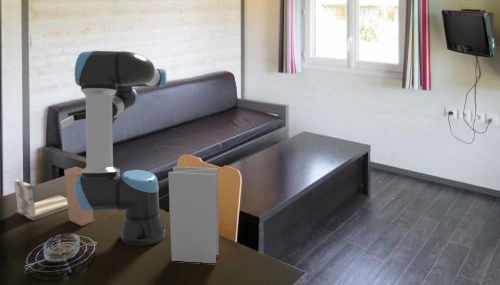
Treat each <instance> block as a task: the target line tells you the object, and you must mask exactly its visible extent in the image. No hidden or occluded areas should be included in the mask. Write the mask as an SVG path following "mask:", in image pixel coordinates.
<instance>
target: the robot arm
mask: <svg viewBox="0 0 500 285" xmlns="http://www.w3.org/2000/svg"><path fill="white" fill-rule="evenodd" d="M74 81H75V84H76V85H77V86H78V87H80V92H82V94H84V96H85V108H82V109H78V110H75V111H70V112H68V113H67V116H68V117H66V118H64V119H63V120H61V121H60V122H59V123H60V124H59V125H60V128H61V129H62V130H63V129H65V128H67V127H68V126H70V125H71V124H74V123H75V121H80V120H81V121H82V120H85V135H86V136H85V138H86V139H85V145H86V146H85V147H86V150H85V152H86V156H85V157H86V164H85V165H86V166H85V167H84V168H83V169H84V170H83V171H82V176H80V177H78V178H77V180H76V196H77V200H78V203H79V205H80V207H81V208H82V209H83V210H86V211H93V212H98V211H99V212H101V211H102V212H103V211H106V212H107V211H124V220H123V224H122V228H121V230H120V239H121V241H122V242H123V243H124V244H125V245H128V246H134V247H146V246H152V245H155V244H157V243H160V242H161V241H162V240H163V239H165V237H166V227H165V225H164V223H163V220H162V218H161V215H160V204H159V203H160V199H159V189H160V188H159V182H158V177H157V176H156V175H155V174H154V173H153V172H150V171H147V170H142V169H132V170H127V171H124V172H123V173H122V175H121V176H120V175H119V174H118V170H117V169H116V167H115V166H114V163H113V162H114V159H113V158H114V155H113V150H114V148H113V146H114V144H113V140H114V139H113V137H114V136H113V125H114V122H115V121H116V120H117V116H118V114H121V113H122V112H124V111H125V110H127V109H129V108H130V107H133V106H134V105H135V104H136V103H137V102H138V100H139V94H138V92H137V91H136V90H135V88H144V87H145V88H162V87H163V88H164V87H166V86H167V71H166V69H162V68H155V65H154V64H153V62H152V61H151V60H150V59H148V57H145V56H144V55H141V54H137V53H135V52H131V51H123V50H120V51H117V50H116V51H114V50H91V51H90V50H89V51H82V52H81V53H80V54H78V56H77V58H76V61H75V66H74ZM118 175H119V176H118Z"/></svg>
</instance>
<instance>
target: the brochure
mask: <svg viewBox="0 0 500 285" xmlns="http://www.w3.org/2000/svg"><path fill="white" fill-rule="evenodd" d="M167 175H168V195H169V196H168V197H169V198H168V199H169V200H168V201H169V221H170V222H169V223H170V224H169V225H170V226H169V228H170V246H171V247H170V250H171V262H172V261H184V262H185V261H186V262H203V263H216V264H217V256H216V255H219V254H220V253H219V252H220V251H219V250H220V248H219V247H220V246H219V244H220V242H219V234H220V232H219V227H220V226H219V168H216V167H213V168H212V167H190V166H189V167H187V166H172V171H168V174H167ZM184 262H183V263H184Z"/></svg>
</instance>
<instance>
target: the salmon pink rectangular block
mask: <svg viewBox="0 0 500 285" xmlns="http://www.w3.org/2000/svg"><path fill="white" fill-rule="evenodd" d="M84 169H85V168H81V167H78V166H74V167H69V168H67V169H63V173H64V183H65V191H66V192H65V193H66V198H67V203H68V208H67V212H68V220H69V221H71V222H72V223H75V224H77V225H79V226H80V227H82V226H85V225H88V224H91V223H93V222H94V211H86V210H83V209H82V208H81V207H80V205H79V203H78V200H77V196H76V180H77V178H78V177H80V176H82V171H83V170H84Z"/></svg>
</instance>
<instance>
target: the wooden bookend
mask: <svg viewBox="0 0 500 285" xmlns="http://www.w3.org/2000/svg"><path fill="white" fill-rule="evenodd" d="M13 183H14V191H15V198H16V206H17V208H16V213H17V212H19V213H20V215H21V214H22V215H21V216H23V215H24V216H23V217H25V216H26V218H28V219H30V220H32V221H36V220H39V219H42V218H45V217H48V216H50V215H53V214H55V213H59V212H62V211H64V210H68V203H67V197H64V196H62V195H60V194H58V195H54V196H51V197H48V198H45V199H42V200H39V201H36V202H35V199H34V190H33V185H32V184H31V183H28V182H25V181H24V180H21V179H18V178H17V179H14V180H13ZM19 213H18V214H19Z"/></svg>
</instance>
